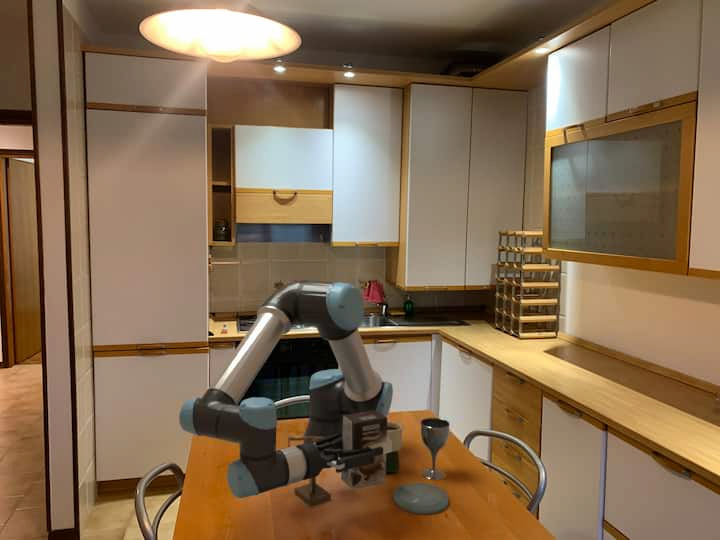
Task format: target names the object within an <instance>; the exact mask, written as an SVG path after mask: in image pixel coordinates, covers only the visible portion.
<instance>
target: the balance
mask: <svg viewBox="0 0 720 540" xmlns="http://www.w3.org/2000/svg"><path fill="white" fill-rule="evenodd" d="M324 437H327V436H304V435H303V436H297V435H296V436H295V435H294V436H292V435H291V436H288V437H287V441H288V442H287V447H282V448H280V449H278V450H281V449H284V448H288V447H291V446H290V443H291V442H293V441H295V442H296V441H297V442H299V441H304V440H310V441H314V440H318V439H321V438H324ZM336 439H337V438H336ZM290 441H291V442H290ZM338 458H339V453H338ZM308 480H309V481H308V482H309V483H306V484H303V485H299V486H297V487H296V486H295V487H294V488H293V489H294V495H296V497H298V498H299V499H300V500H302V501H303V502H304V503H305V504H307V505H308V506H309V507H313V506H316V505H320V504H323V503H325V502H326V503H327V502H329V501H331V499H332V497H331V496H332V494H331V493H330V492H329V491H327V490H326V489H325V488H323V487H322V486H320V485H319V484H318V483H317V477H314V478H310V479H308Z"/></svg>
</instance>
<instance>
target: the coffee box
mask: <svg viewBox="0 0 720 540" xmlns="http://www.w3.org/2000/svg"><path fill="white" fill-rule="evenodd" d="M387 422H388V417H387V416H386V417H385V416H384V415H382V414H380V413H378V412H376V411H375V410H374V411H367V412H361V413H354V414H348V415H343V437H342V439H343V441H342V450H353V449H364V448H368V446H370V445H373V444H377V443H380V442H384V441H387ZM386 473H387V472H386V454H383V455H380V456H376V457H374V464H370V465H365V466H361V467H356V468H352V469H348V470H345V471H343V472H340V474H341V475H340V480H341V481H342V482H344V483H345V485H347V487H348V488H350V489H351V490H352V491H354V490H359V489H364V488H369V487H371V486H377V485H381V484H386Z"/></svg>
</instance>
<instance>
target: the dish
mask: <svg viewBox="0 0 720 540" xmlns="http://www.w3.org/2000/svg"><path fill="white" fill-rule="evenodd" d="M393 502H394V504H395V506H397V507H398V508H399V509H401V510H403V511H405V512H408V513H411V514H414V515H423V516H425V515H434V514H438V513H441V512H443V511H445V510H446V509H447V508H448V506H449V495H448V492H446V491H445V490H444V489H442V488H441V487H439V486H437V485H434V484H430V483H425V482H411V483H406V484H402V485H400V486H398V487H397V488H395V490H394V491H393Z"/></svg>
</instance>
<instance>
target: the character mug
mask: <svg viewBox="0 0 720 540" xmlns="http://www.w3.org/2000/svg"><path fill="white" fill-rule="evenodd" d="M402 439H403V425H401V424H400V423H398V422H392V421H387V441H388V440H391V441H392V452H390V453H386V473H388V474H389V473H396V472H399V471H400V467H401V466H400V458H399V457H400V456H399V452H398V451H400V450H401V449H402V443H403V440H402Z"/></svg>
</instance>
